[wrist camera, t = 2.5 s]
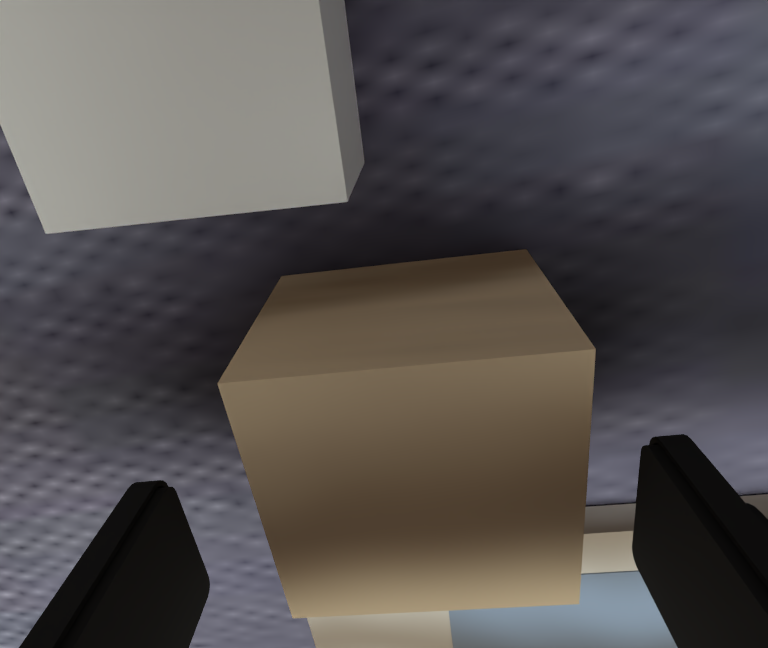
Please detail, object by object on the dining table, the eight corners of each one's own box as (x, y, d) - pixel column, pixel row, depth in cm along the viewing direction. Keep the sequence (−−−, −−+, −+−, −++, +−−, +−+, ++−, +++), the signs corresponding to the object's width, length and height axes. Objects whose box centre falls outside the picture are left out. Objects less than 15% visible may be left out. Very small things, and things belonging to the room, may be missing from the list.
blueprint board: (293, 527, 16) (286, 554, 15) (856, 488, 15) (886, 515, 14) (348, 715, 21) (345, 745, 20) (778, 700, 20) (797, 731, 19)
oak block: (282, 274, 13) (216, 383, 8) (525, 247, 12) (595, 348, 8) (324, 459, 15) (292, 618, 11) (526, 444, 15) (579, 603, 10)
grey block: (72, -81, 10) (-122, -169, 6) (329, -121, 9) (284, -243, 6) (153, 185, 12) (45, 234, 8) (364, 161, 11) (347, 201, 8)
